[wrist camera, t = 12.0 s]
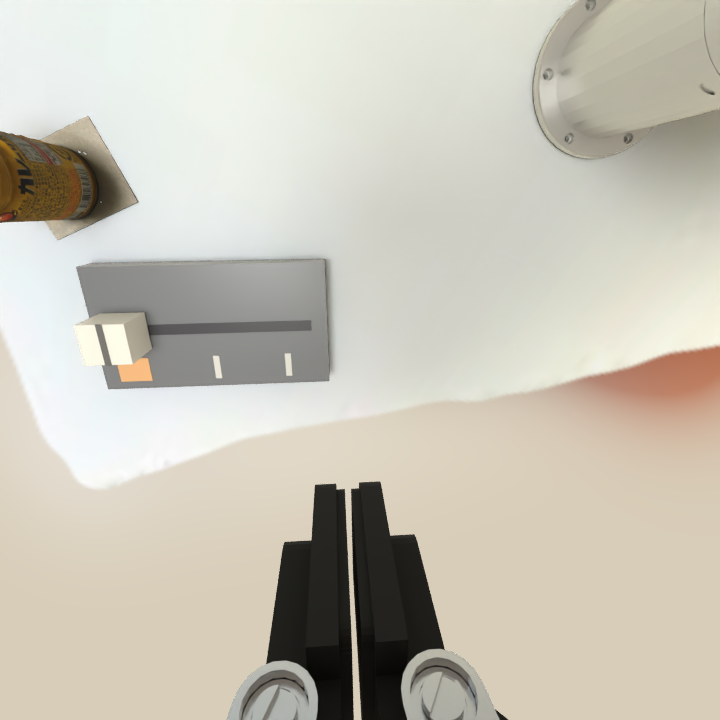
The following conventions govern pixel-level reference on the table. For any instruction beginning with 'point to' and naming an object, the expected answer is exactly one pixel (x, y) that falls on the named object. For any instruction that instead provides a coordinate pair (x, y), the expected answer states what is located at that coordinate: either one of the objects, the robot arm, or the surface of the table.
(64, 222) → the condiment
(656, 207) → the table surface
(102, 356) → the fader knob
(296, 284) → the fader console
